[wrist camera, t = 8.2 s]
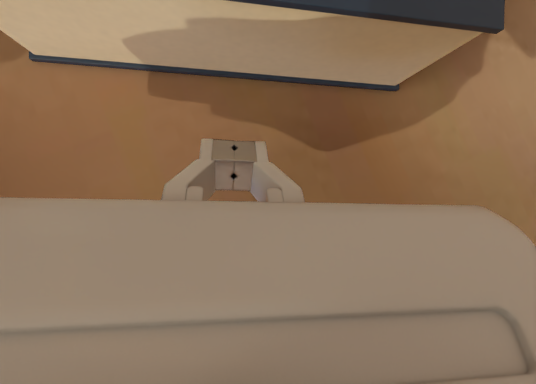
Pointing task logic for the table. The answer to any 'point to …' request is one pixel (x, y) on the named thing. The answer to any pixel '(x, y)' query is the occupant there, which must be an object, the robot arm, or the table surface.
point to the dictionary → (253, 36)
